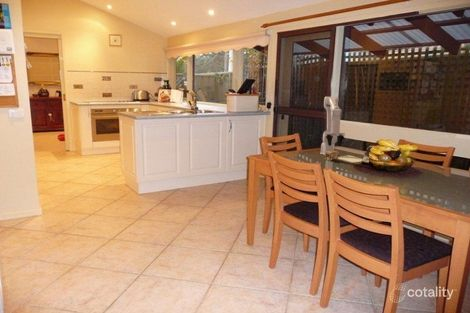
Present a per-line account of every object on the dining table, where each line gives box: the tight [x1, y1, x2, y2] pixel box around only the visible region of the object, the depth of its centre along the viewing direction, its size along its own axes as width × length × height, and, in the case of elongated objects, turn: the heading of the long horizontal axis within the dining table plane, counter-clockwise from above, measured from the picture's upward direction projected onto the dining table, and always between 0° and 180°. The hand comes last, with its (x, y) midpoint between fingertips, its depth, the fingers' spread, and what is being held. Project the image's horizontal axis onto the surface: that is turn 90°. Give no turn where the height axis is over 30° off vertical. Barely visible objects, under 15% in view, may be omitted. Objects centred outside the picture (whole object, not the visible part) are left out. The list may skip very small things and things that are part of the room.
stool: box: [324, 150, 340, 162], centre depth 245 cm, size 8×5×6 cm, turn 120°
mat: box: [338, 155, 363, 164], centre depth 249 cm, size 18×16×1 cm
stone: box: [360, 145, 376, 164], centre depth 235 cm, size 14×10×15 cm
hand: (334, 146), depth 243 cm, fingers open, 7 cm apart
